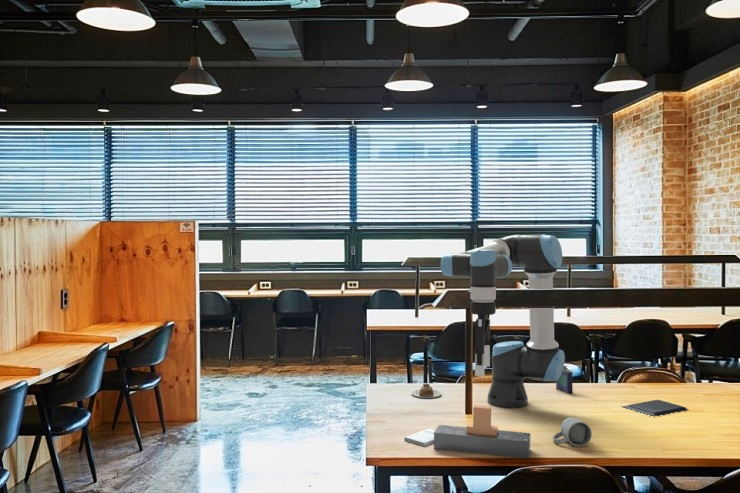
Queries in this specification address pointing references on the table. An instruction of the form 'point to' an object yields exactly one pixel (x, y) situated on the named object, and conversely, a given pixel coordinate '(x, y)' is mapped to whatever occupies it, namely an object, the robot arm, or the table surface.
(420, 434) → the external hard drive
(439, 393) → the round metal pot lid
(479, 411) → the tan wooden block
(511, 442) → the rail
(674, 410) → the dark gray flat slab
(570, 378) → the flask
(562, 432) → the ceramic mug
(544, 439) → the table surface
